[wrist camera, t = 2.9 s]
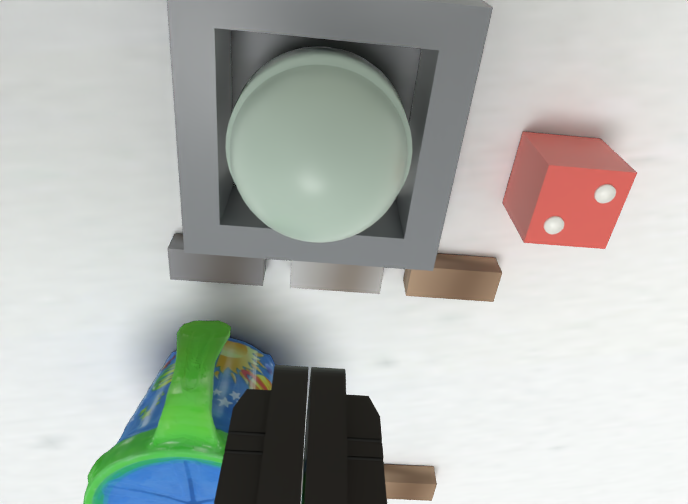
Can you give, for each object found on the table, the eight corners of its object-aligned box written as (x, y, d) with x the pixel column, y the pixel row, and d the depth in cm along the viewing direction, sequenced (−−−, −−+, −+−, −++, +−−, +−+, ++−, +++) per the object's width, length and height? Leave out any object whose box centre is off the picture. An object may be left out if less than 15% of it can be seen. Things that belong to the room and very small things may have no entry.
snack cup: (140, 263, 32) (69, 402, 23) (323, 290, 33) (319, 431, 24) (141, 441, 40) (89, 590, 31) (287, 456, 41) (275, 605, 33)
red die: (502, 203, 30) (524, 244, 26) (522, 131, 28) (550, 166, 24) (574, 208, 30) (606, 250, 27) (600, 138, 28) (638, 174, 24)
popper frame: (201, 212, 30) (184, 252, 26) (189, -39, 23) (164, -27, 20) (422, 229, 31) (433, 271, 27) (470, -9, 24) (492, 7, 21)
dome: (238, 190, 28) (211, 274, 22) (237, 28, 23) (204, 77, 17) (390, 202, 28) (406, 288, 22) (415, 46, 24) (443, 99, 18)
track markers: (193, 471, 42) (188, 489, 41) (174, 233, 30) (167, 248, 29) (428, 482, 43) (431, 500, 42) (495, 257, 32) (502, 273, 30)
